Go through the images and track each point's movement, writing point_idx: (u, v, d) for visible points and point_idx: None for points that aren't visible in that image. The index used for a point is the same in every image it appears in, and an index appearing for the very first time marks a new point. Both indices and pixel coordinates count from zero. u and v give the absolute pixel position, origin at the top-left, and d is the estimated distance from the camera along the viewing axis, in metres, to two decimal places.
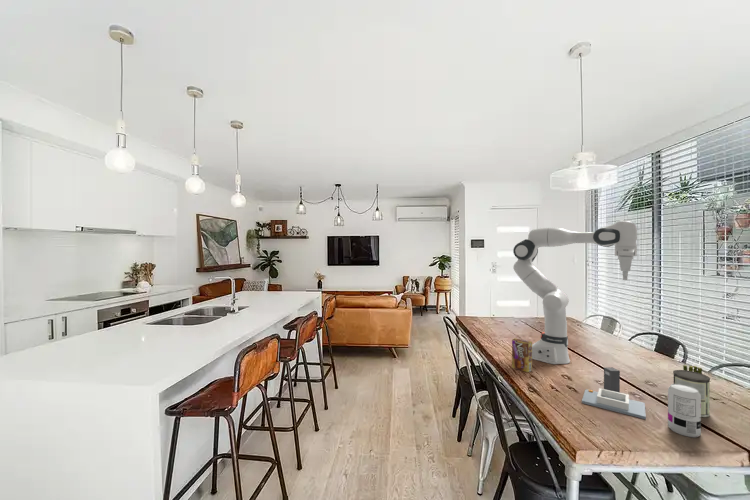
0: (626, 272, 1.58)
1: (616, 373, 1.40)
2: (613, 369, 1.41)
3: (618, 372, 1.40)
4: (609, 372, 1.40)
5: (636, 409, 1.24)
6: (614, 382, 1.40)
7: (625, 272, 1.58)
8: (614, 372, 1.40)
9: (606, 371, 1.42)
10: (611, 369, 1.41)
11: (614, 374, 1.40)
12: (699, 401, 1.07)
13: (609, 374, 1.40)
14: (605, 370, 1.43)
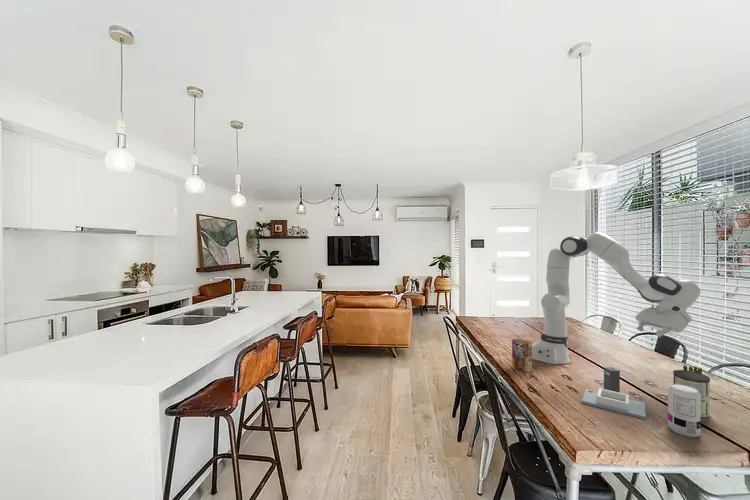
0: (668, 330, 1.37)
1: (616, 373, 1.40)
2: (613, 369, 1.41)
3: (618, 372, 1.40)
4: (609, 372, 1.40)
5: (636, 409, 1.24)
6: (614, 382, 1.40)
7: (667, 330, 1.37)
8: (614, 372, 1.40)
9: (606, 371, 1.42)
10: (611, 369, 1.41)
11: (614, 374, 1.40)
12: (699, 401, 1.07)
13: (609, 374, 1.40)
14: (605, 370, 1.43)
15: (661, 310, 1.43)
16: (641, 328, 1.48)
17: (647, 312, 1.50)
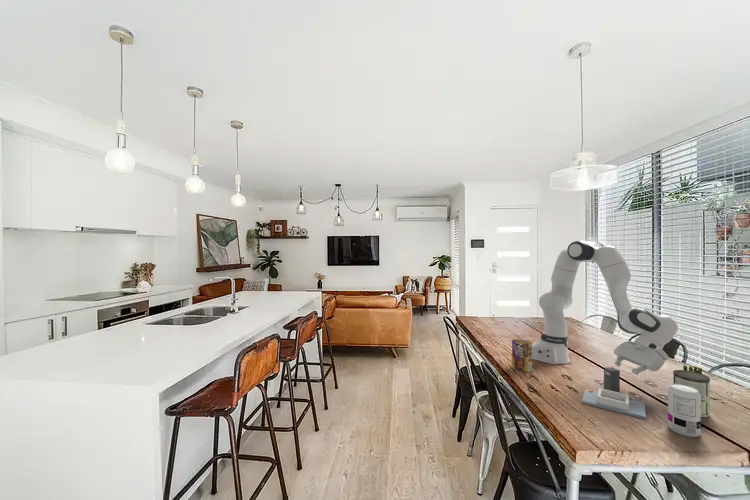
0: (644, 368, 1.36)
1: (616, 373, 1.40)
2: (613, 369, 1.41)
3: (618, 372, 1.40)
4: (609, 372, 1.40)
5: (636, 409, 1.24)
6: (614, 382, 1.40)
7: (644, 368, 1.36)
8: (614, 372, 1.40)
9: (606, 371, 1.42)
10: (611, 369, 1.41)
11: (614, 374, 1.40)
12: (699, 401, 1.07)
13: (609, 374, 1.40)
14: (605, 370, 1.43)
15: (638, 346, 1.42)
16: (619, 363, 1.46)
17: (625, 346, 1.49)
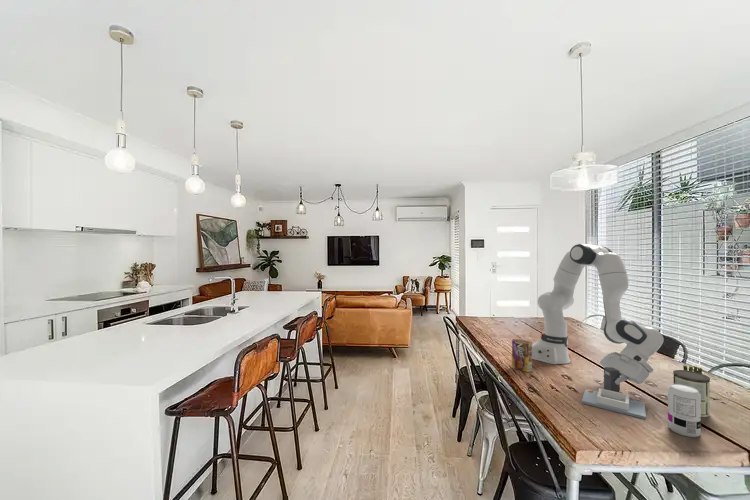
0: (625, 379, 1.37)
1: (616, 373, 1.40)
2: (613, 369, 1.41)
3: (618, 372, 1.40)
4: (609, 372, 1.40)
5: (636, 409, 1.24)
6: None
7: (624, 378, 1.37)
8: (614, 372, 1.40)
9: (606, 371, 1.42)
10: (611, 369, 1.41)
11: (614, 374, 1.40)
12: (699, 401, 1.07)
13: (609, 374, 1.40)
14: (605, 370, 1.43)
15: (624, 358, 1.41)
16: None
17: (611, 357, 1.48)
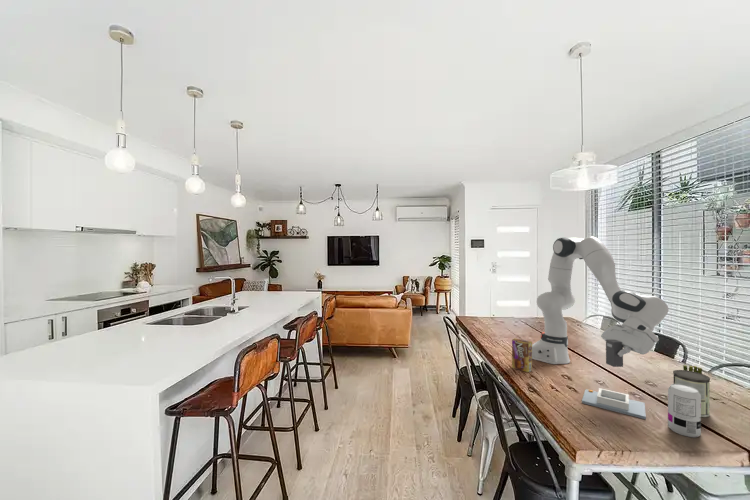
0: (629, 350, 1.28)
1: (619, 345, 1.31)
2: (616, 341, 1.32)
3: (621, 343, 1.31)
4: (611, 344, 1.31)
5: (636, 409, 1.24)
6: None
7: (628, 349, 1.28)
8: (617, 343, 1.31)
9: (608, 343, 1.33)
10: (613, 341, 1.32)
11: (617, 346, 1.31)
12: (699, 401, 1.07)
13: (611, 346, 1.31)
14: (607, 342, 1.34)
15: (627, 329, 1.32)
16: None
17: (613, 330, 1.39)
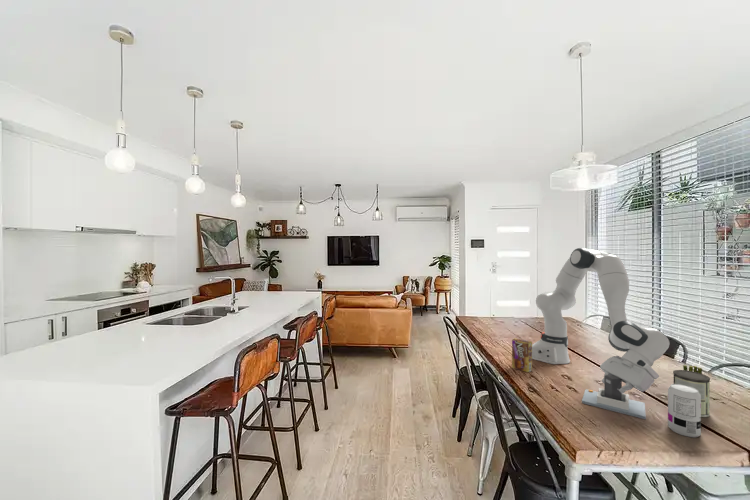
0: (631, 387, 1.24)
1: (618, 381, 1.28)
2: (614, 377, 1.30)
3: (620, 380, 1.28)
4: (610, 381, 1.29)
5: (636, 409, 1.24)
6: (616, 391, 1.28)
7: (630, 386, 1.24)
8: (616, 380, 1.28)
9: (606, 379, 1.31)
10: (612, 377, 1.30)
11: (616, 382, 1.28)
12: (699, 401, 1.07)
13: (610, 382, 1.29)
14: (606, 378, 1.31)
15: (626, 362, 1.30)
16: None
17: (612, 362, 1.37)
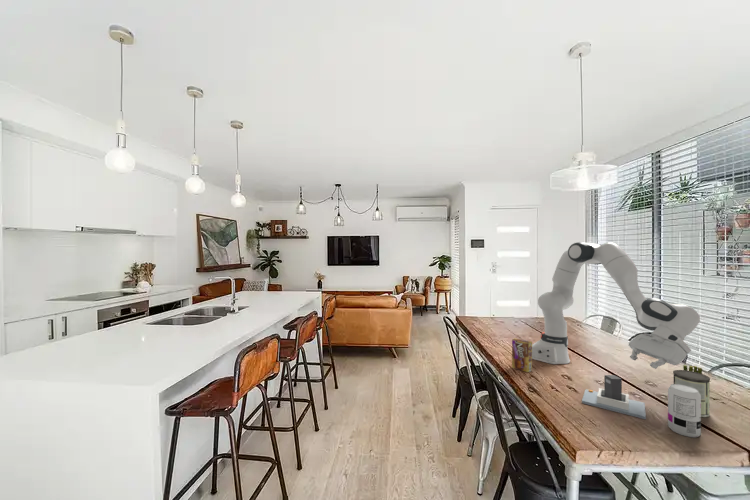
0: (664, 362, 1.24)
1: (618, 381, 1.28)
2: (614, 377, 1.30)
3: (620, 380, 1.28)
4: (610, 381, 1.29)
5: (636, 409, 1.24)
6: (616, 391, 1.28)
7: (663, 361, 1.24)
8: (616, 380, 1.28)
9: (606, 379, 1.31)
10: (612, 377, 1.30)
11: (616, 382, 1.28)
12: (699, 401, 1.07)
13: (610, 382, 1.29)
14: (606, 378, 1.31)
15: (657, 338, 1.30)
16: (635, 357, 1.35)
17: (641, 339, 1.37)
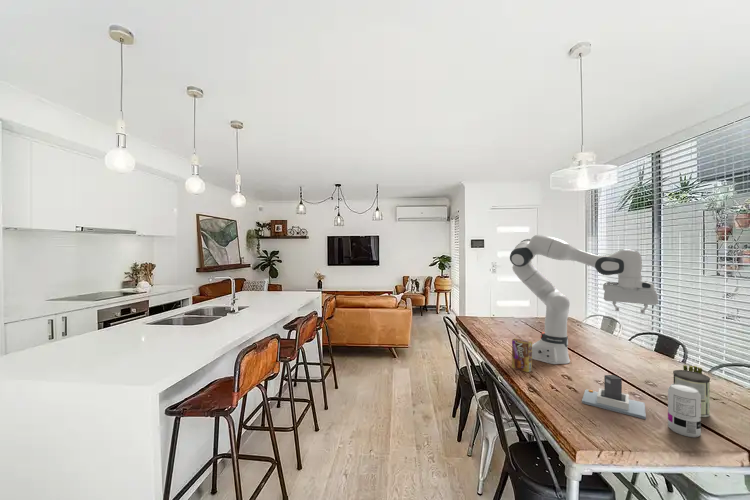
0: (647, 305, 1.49)
1: (618, 381, 1.28)
2: (614, 377, 1.30)
3: (620, 380, 1.28)
4: (610, 381, 1.29)
5: (636, 409, 1.24)
6: (616, 391, 1.28)
7: (647, 305, 1.49)
8: (616, 380, 1.28)
9: (606, 379, 1.31)
10: (612, 377, 1.30)
11: (616, 382, 1.28)
12: (699, 401, 1.07)
13: (610, 382, 1.29)
14: (606, 378, 1.31)
15: (631, 289, 1.50)
16: None
17: (613, 291, 1.56)
